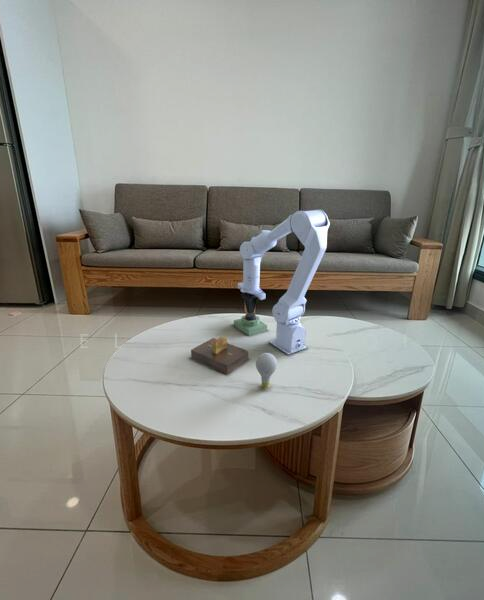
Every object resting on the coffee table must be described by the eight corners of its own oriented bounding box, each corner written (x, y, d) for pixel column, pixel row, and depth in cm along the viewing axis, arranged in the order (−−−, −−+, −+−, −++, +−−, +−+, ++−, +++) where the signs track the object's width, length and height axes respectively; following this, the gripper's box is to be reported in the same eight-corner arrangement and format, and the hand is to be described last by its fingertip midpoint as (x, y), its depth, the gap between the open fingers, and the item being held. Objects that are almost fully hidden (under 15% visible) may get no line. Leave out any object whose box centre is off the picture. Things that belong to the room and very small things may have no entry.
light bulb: (250, 388, 84) (251, 354, 80) (263, 379, 88) (265, 346, 84) (266, 396, 81) (268, 362, 77) (279, 387, 85) (282, 354, 81)
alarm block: (267, 330, 116) (267, 320, 115) (248, 336, 112) (249, 325, 111) (251, 321, 124) (251, 311, 123) (233, 325, 120) (233, 315, 118)
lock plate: (248, 359, 97) (248, 350, 96) (227, 374, 90) (227, 364, 88) (213, 345, 105) (213, 337, 104) (191, 358, 97) (190, 349, 96)
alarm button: (257, 319, 116) (257, 315, 116) (249, 321, 114) (249, 317, 114) (251, 316, 119) (251, 312, 118) (243, 318, 117) (243, 314, 116)
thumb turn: (223, 346, 98) (222, 334, 97) (227, 347, 98) (227, 336, 96) (212, 352, 94) (211, 341, 93) (216, 354, 94) (215, 342, 92)
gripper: (230, 272, 114) (230, 308, 119) (253, 283, 103) (252, 321, 108) (247, 270, 118) (246, 304, 123) (271, 280, 107) (269, 317, 112)
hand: (250, 312), depth 116 cm, fingers closed
